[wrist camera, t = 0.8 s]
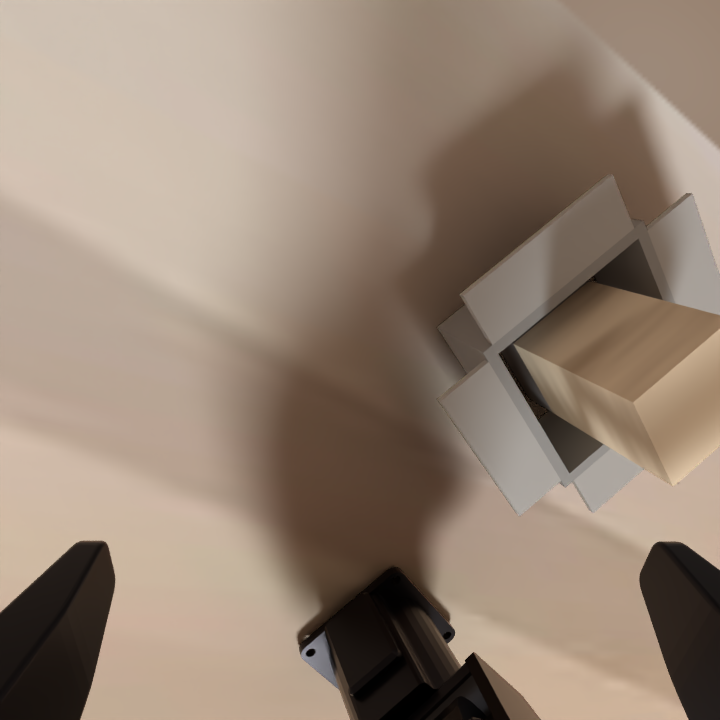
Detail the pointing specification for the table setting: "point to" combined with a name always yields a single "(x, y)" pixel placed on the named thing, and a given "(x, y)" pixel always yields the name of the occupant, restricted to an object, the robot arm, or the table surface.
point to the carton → (537, 298)
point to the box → (628, 375)
